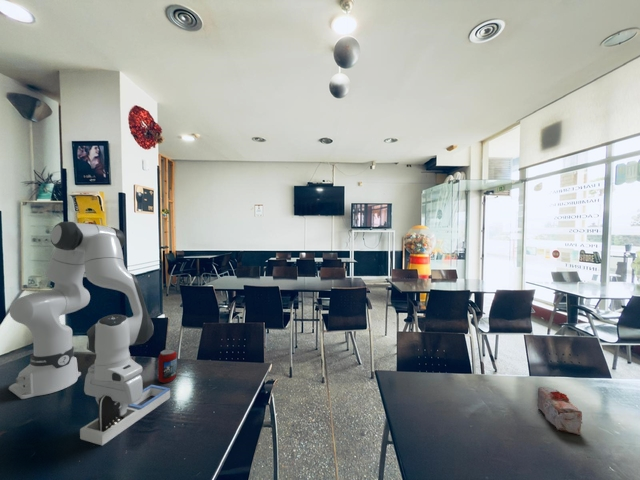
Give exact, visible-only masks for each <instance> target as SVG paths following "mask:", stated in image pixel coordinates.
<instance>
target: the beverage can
mask: <svg viewBox="0 0 640 480" xmlns="http://www.w3.org/2000/svg"><path fill="white" fill-rule="evenodd" d="M177 357H178V354H177V352H176V349H174V348H168V349H167V348H166V349H164V350H162V351H160V354H159V355H158V366H157V367H158V368H157V369H158V371H157V373H158V374H157V375H158V378H157V379H158V381H159V382H161V383H163V384H164V383H169V382H172V381H173V380H174V379H176V378H177V373H178V372H177V371H178V370H177V366H178V361H177V359H178V358H177Z"/></svg>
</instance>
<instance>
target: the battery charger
mask: <svg viewBox="0 0 640 480" xmlns="http://www.w3.org/2000/svg"><path fill="white" fill-rule="evenodd" d="M120 406H121V405H120V402H116V401H113V400H112V398H111V397H109V396H106V395H103V396H102V397H101V398H100V400H99V404H98V403H97V407H98V408H97V413H98V414H97V415H98V416H97V418H98V423H99V429H98V431H101V432H104V431H106V430H107V429H109V428H110V427H112V426H113V425H115V424H116V423H118V422H120V421H121V420H122V418H121V417H122V416H120V415H118V409H119V407H120Z"/></svg>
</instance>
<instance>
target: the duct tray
mask: <svg viewBox="0 0 640 480" xmlns="http://www.w3.org/2000/svg"><path fill="white" fill-rule="evenodd" d="M151 396H152V398H151V399H149V400H148V401H146V402H145V403H143V404H142V405H140V403H142V402H143V401H145V400H147V399H148V398H150V397H151ZM170 398H171V388H170V387H165V386H159V385H155V384H150V385H148V386H147V387H144V388H143V391H142V397H141V398H140V399H139V400H138V401H136V402H135V403H133V404H131V405H128V406H127V412H126V413H125V414H124V415H120V417H123V419H121V421H120V422H118V423H116V424H115V425H113V426H112V427H110V428H109V429H107V430H106V431H104V432H101V431H99V423H98V417H97V418H96V419H94V420H93V421H91V422H89V423H88V424H86V425H84V426H83V427H81V428H79V436H80V437H79V439H80V440H82V441H85V442H90V443H93V444H96V445H100V446H105V444H107V443H108V442H110V441H111V440H112V439H113V438H115V437H117V436H118V435H119V434H121V433H122V432H123V431H125V430H126V429H128V428H129V427H131V426H132V425H134V424H135V423H136V422H138V421H139V420H141V419H142V418H144V417H145V416H146V415H148V414H149V413H151V412H152V411H153V410H155V409H156V408H158V407H159V406H161V405H162V404H163V403H164V402H166V401H168V400H169V399H170ZM121 406H122V405H121ZM121 406H120V407H119V409H120V408H121Z"/></svg>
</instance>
